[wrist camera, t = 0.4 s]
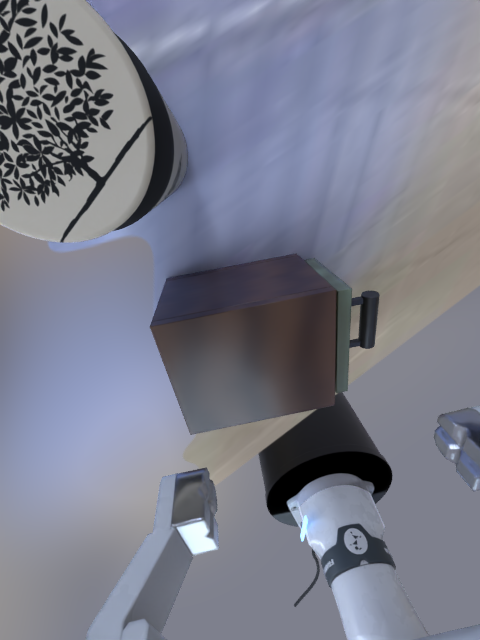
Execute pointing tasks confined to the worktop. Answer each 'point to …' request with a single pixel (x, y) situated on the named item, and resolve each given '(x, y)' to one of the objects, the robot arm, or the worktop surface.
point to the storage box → (248, 342)
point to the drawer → (343, 319)
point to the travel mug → (78, 126)
